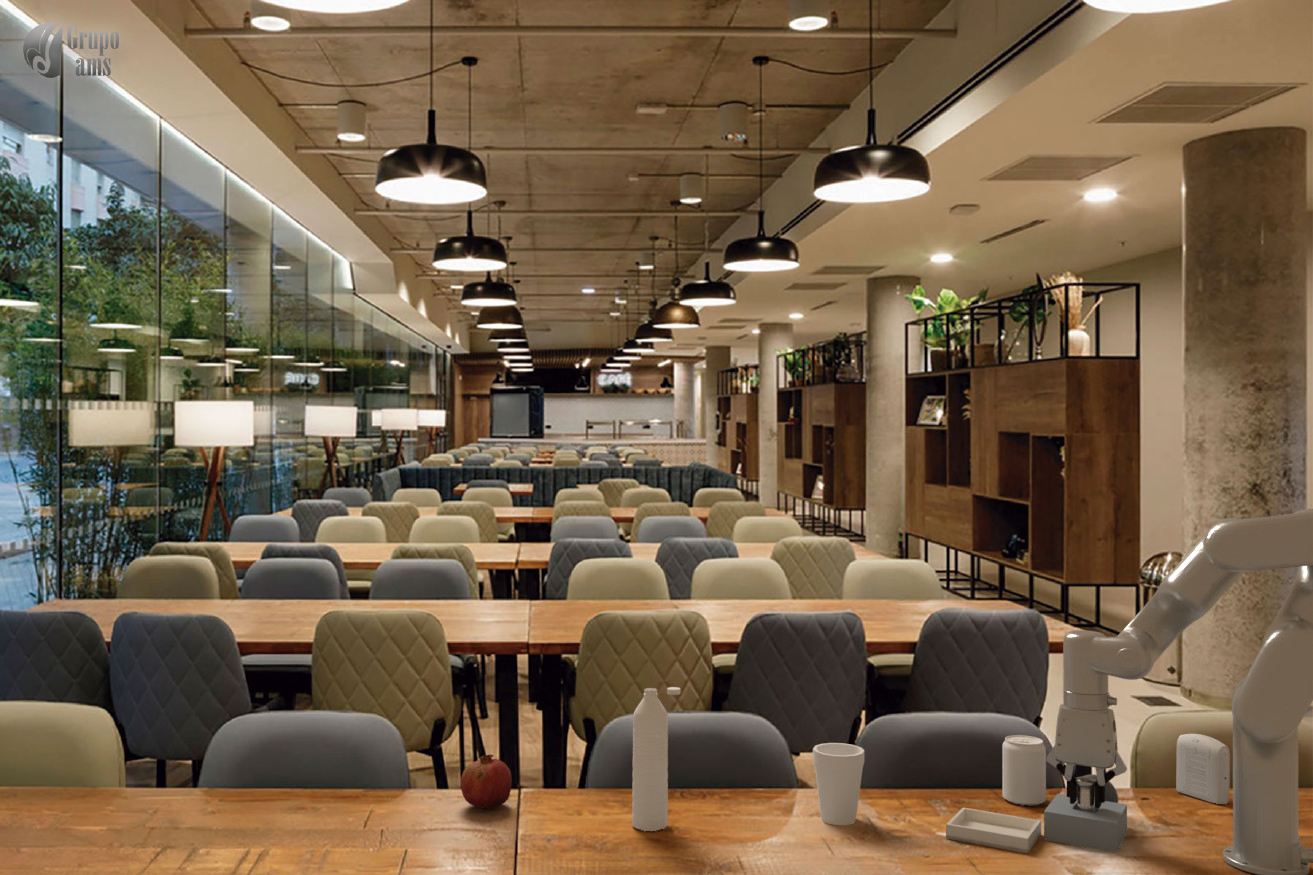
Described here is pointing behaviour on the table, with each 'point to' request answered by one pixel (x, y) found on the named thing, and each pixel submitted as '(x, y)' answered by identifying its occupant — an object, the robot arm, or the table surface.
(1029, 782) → the beverage can
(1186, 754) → the photo printer
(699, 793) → the table surface
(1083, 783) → the lock pin
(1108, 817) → the tensioner block
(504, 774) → the fruit
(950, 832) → the tray
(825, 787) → the foam cup
